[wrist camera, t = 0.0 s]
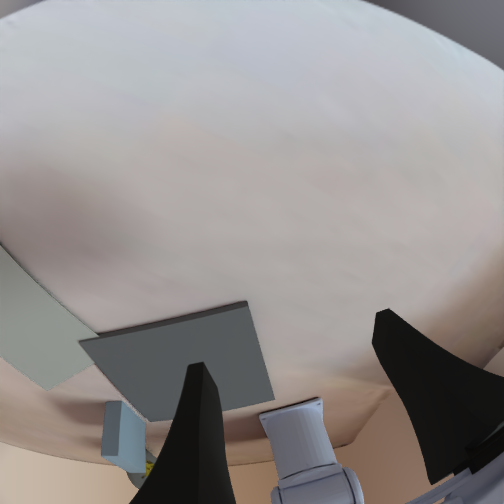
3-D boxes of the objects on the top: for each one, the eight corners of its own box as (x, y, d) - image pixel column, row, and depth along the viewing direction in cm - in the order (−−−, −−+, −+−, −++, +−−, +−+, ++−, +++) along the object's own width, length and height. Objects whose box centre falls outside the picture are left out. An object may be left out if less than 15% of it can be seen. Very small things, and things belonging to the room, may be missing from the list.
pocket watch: (112, 454, 37) (111, 507, 28) (110, 436, 33) (108, 498, 24) (160, 461, 39) (163, 513, 31) (166, 444, 35) (170, 506, 27)
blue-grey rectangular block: (145, 423, 31) (145, 472, 26) (130, 424, 31) (129, 472, 25) (122, 400, 28) (118, 455, 22) (106, 402, 28) (100, 455, 22)
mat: (273, 395, 31) (274, 399, 31) (150, 417, 31) (150, 421, 30) (247, 300, 23) (248, 306, 22) (80, 337, 22) (78, 342, 22)
